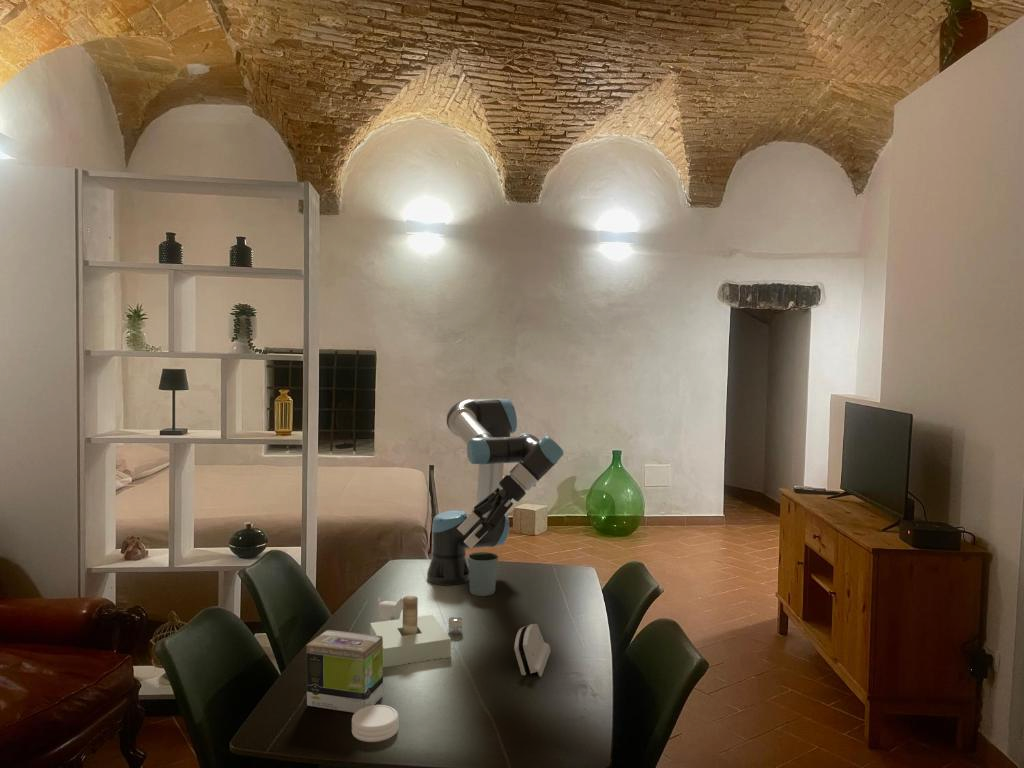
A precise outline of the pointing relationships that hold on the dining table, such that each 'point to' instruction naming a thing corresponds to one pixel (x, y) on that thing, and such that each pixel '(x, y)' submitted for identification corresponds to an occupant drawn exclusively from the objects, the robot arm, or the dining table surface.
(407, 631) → the maple pin
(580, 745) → the dining table surface
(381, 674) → the tea box
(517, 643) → the magnetic window cleaner
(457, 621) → the steel stub
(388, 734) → the coaster
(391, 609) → the elephant figurine
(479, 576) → the grey blue cup
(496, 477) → the robot arm
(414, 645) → the sage block
